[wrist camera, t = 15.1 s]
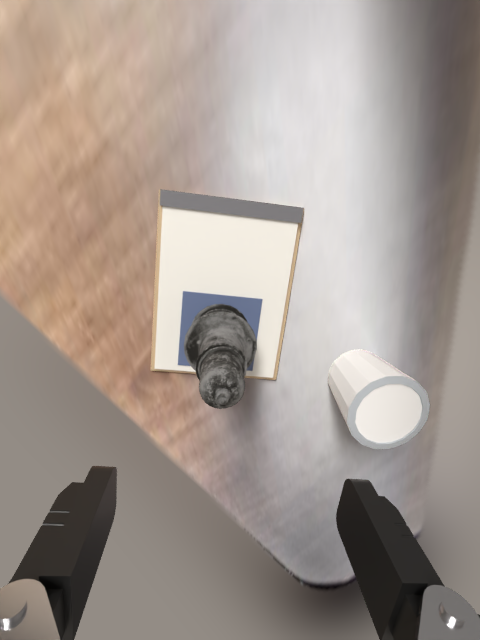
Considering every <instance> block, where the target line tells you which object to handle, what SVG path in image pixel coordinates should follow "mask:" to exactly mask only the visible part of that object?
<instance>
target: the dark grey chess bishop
mask: <svg viewBox="0 0 480 640" xmlns="http://www.w3.org/2000/svg"><path fill="white" fill-rule="evenodd" d="M256 350H257V340H256V337H255V334H254V331H253V329H252V328H251V326H250V325H249V324H248V323H247V320H246V318H245V317H244V315H243V314H242V313H241V312H240V311H239V310H238V309H236V308H234V307H232V306H230V305H226V304H214V305H211V306H207V307H206V308H204V309H202V310H201V311H200V312H199V313H198V314H197V315H196V316H195V318H194V320H193V322H192V325H191V326H190V327H189V329H188V331H187V333H186V335H185V340H184V353H185V356H186V359H187V361H188V363H189V364H190V365H191V367H192V368H193V369H194V370H195V371H196V374H197V377H198V379H199V380H200V383H199V391H200V394H201V397H202V399H203V400H204V401H205V403H207V404H208V405H209V406H211V407H214V408H219V409H222V408H228V407H231V406H233V405H235V404H236V403H237V402H238V401H239V400H240V399H241V397H242V396H243V393H244V389H245V381H244V377H245V375H246V371H247V368H248V367H249V366H250V365H251V363H252V361H253V359H254V358H255V354H256Z"/></svg>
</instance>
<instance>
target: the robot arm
mask: <svg viewBox="0 0 480 640" xmlns="http://www.w3.org/2000/svg"><path fill="white" fill-rule="evenodd" d="M116 477H117V469H116V467H105V466H92V468H91V469H90V471H89V473H88V475H87V477H86V480H85V482H84V483H75V482H72V483H71V484H70V485H69V486H68V487H67V488H65V489H64V490H63V491H62V492H61V493H60V494H59V495H58V497H57V498H56V500H55V502H54V504H53V506H52V508H51V509H50V512H49V513H48V515H47V516H46V518H45V520H44V522H43V525H42V526H41V527H40V529H39V531H38V533H37V535H36V536H35V538H34V540H33V542H32V543H31V545H30V547H29V549H28V551H27V553H26V554H25V556H24V558H23V560H22V561H21V563H20V565H19V567H18V569H17V570H16V572H15V574H14V576H13V577H12V579H11V581H10V582H9V583H8V584H7V585H5V586H3V587H2V588H0V640H74V638H75V635H76V632H77V629H78V626H79V623H80V620H81V617H82V614H83V611H84V608H85V605H86V602H87V599H88V596H89V593H90V590H91V587H92V584H93V581H94V578H95V574H96V572H97V569H98V566H99V563H100V560H101V557H102V554H103V551H104V548H105V545H106V541H107V539H108V535H109V532H110V529H111V526H112V523H113V520H114V515H115V509H116V481H117V478H116ZM336 521H337V528H338V531H339V534H340V537H341V539H342V542H343V545H344V547H345V550H346V553H347V555H348V558H349V560H350V563H351V566H352V568H353V571H354V573H355V576H356V579H357V581H358V584H359V587H360V589H361V592H362V594H363V597H364V600H365V602H366V605H367V607H368V610H369V613H370V615H371V618H372V620H373V623H374V626H375V628H376V631H377V634H378V636H379V639H380V640H480V615H478V614H477V613H476V611H475V610H474V608H473V607H472V606H471V605H470V604H469V603H468V602H467V601H466V600H465V599H464V598H463V597H462V596H461V595H459V594H458V593H456V592H455V591H453V590H451V589H449V588H447V587H445V586H444V585H443V583H442V582H441V580H440V578H439V577H438V575H437V573H436V572H435V570H434V569H433V567H432V565H431V563H430V562H429V560H428V558H427V557H426V555H425V554H424V552H423V550H422V549H421V547H420V545H419V544H418V542H417V540H416V539H415V538H414V537H413V534H412V532H411V531H410V529H409V527H408V526H406V522H405V521H404V519H403V517H402V516H401V514H400V512H399V511H398V509H397V508H396V507H395V506H394V505H393V504H392V503H391V502H390V501H389V500H387V499H386V498H385V497H384V496H378V494H377V492H376V491H375V489H374V487H373V485H372V484H371V482H370V481H369V480H362V479H346V480H345V482H344V486H343V490H342V494H341V497H340V501H339V505H338V509H337V514H336Z"/></svg>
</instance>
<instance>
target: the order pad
mask: <svg viewBox="0 0 480 640" xmlns="http://www.w3.org/2000/svg"><path fill="white" fill-rule="evenodd" d="M303 213H304V208H300V207H293V206H285V205H277V204H269V203H262V202H254V201H246V200H239V199H231V198H223V197H216V196H208V195H200V194H192V193H185V192H177V191H169V190H162V189H160V190H159V201H158V222H157V244H156V266H155V287H154V309H153V331H152V352H151V371H165V372H178V373H191V374H196V371H195V370H194V369H193V368H192V367H191V365H190V364H189V363H188V361H187V359H186V356H185V353H184V340H185V335H186V333H187V331H188V329H189V327H190V326H191V325H192V322H193V320H194V318H195V316H196V315H197V314H198V313H199V312H200V311H201V310H202V309H204V308H206V307H207V306H211V305H214V304H226V305H230V306H232V307H234V308H236V309H238V310H239V311H240V312H241V313H242V314H243V315H244V317H245V318H246V320H247V323H248V324H249V325H250V326H251V328H252V329H253V331H254V334H255V337H256V340H257V350H256V354H255V358H254V359H253V361H252V363H251V365H250V366H249V367H248V368H247V371H246V375H245V377H244V378H257V379H270V380H276V376H277V370H278V364H279V358H280V352H281V346H282V340H283V334H284V328H285V322H286V316H287V310H288V304H289V298H290V292H291V285H292V279H293V273H294V267H295V261H296V255H297V249H298V243H299V237H300V231H301V225H302V219H303Z"/></svg>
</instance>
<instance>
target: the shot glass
mask: <svg viewBox="0 0 480 640" xmlns="http://www.w3.org/2000/svg"><path fill="white" fill-rule="evenodd" d="M328 383H329V386H330V389H331V391H332V394H333V396H334V398H335V400H336V402H337V404H338V407H339V409H340V411H341V413H342V415H343V418H344V420H345V422H346V424H347V426H348V429H349V431H350V433H351V435H352V436H353V437H354V438H355V439H356V440H357V441H358V442H359V443H360V444H361V445H364V446H367V447H370V448H373V449H391V448H394V447H397V446H399V445H402V444H405V443H407V442H408V441H409V440H410V439H412V438H413V437H414V436H415V435H417V434H418V433H419V432H420V430H421V429H422V427H423V426H424V424H425V423H426V421H427V419H428V414H429V409H430V403H429V399H428V395H427V392H426V391H425V389H424V388H423V387H422V386H421V385H420V384H419V383H418V382H417V381H416V380H414V379H413V378H411V377H409V376H408V375H406V374H405V373H403V372H402V371H400V370H399V369H397V368H395V367H394V366H392V365H391V364H389V363H388V362H386V361H384V360H383V359H381V358H380V357H378V356H377V355H375V354H374V353H371V352H369V351H366V350H351V351H348V352H346V353H343V354H342V355H340V356H339V357H338V358H337V359H336V360H335V361H334V362H333V364H332V365H331V367H330V369H329V372H328Z"/></svg>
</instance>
